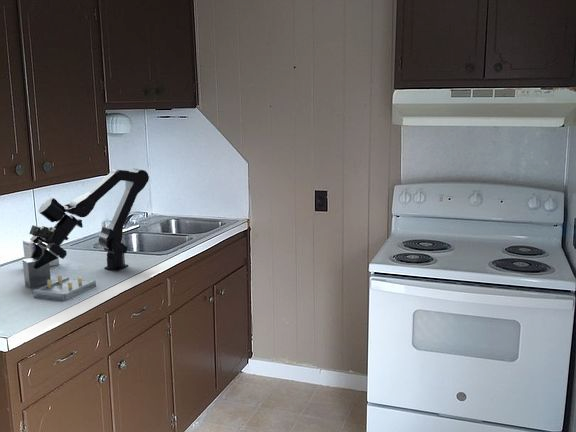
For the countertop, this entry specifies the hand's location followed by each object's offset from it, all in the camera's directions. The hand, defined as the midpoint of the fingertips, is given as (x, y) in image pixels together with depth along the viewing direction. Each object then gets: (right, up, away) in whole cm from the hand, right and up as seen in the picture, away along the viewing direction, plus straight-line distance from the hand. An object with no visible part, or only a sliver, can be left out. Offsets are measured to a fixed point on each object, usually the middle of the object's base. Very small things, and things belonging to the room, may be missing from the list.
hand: (32, 266), depth 199 cm
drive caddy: (+1, -6, +2) cm, 7 cm away
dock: (+13, -8, -5) cm, 16 cm away
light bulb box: (-7, -2, +24) cm, 25 cm away
